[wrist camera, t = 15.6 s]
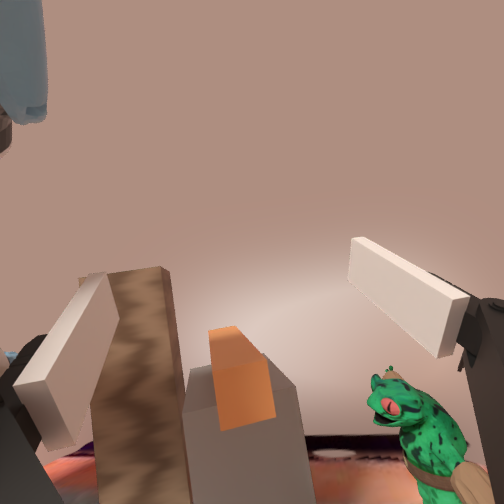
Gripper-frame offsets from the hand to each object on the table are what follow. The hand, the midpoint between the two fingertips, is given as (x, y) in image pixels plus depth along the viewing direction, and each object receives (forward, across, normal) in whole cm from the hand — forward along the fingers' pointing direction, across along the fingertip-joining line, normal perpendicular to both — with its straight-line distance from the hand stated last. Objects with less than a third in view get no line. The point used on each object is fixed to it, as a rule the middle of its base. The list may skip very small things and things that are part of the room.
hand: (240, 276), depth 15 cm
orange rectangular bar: (+9, 0, -17) cm, 20 cm away
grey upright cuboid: (+2, 0, -31) cm, 31 cm away
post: (+11, -12, -37) cm, 41 cm away
